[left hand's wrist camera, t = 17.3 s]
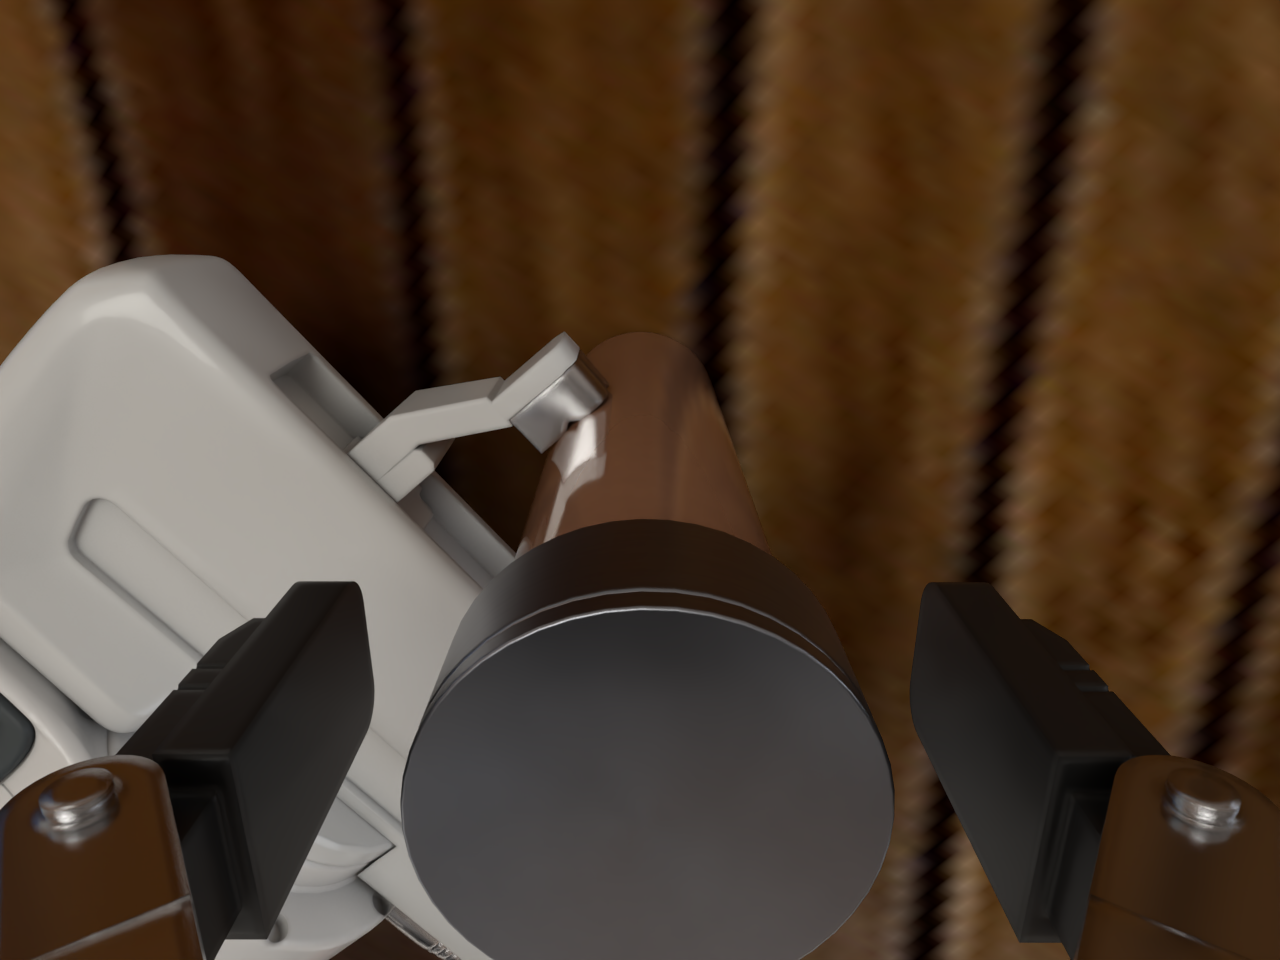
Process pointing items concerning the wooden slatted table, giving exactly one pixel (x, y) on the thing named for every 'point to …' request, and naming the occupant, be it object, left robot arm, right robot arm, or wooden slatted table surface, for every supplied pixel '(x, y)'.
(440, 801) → the lid
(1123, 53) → the wooden slatted table surface
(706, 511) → the brown cylinder
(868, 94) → the wooden slatted table surface
